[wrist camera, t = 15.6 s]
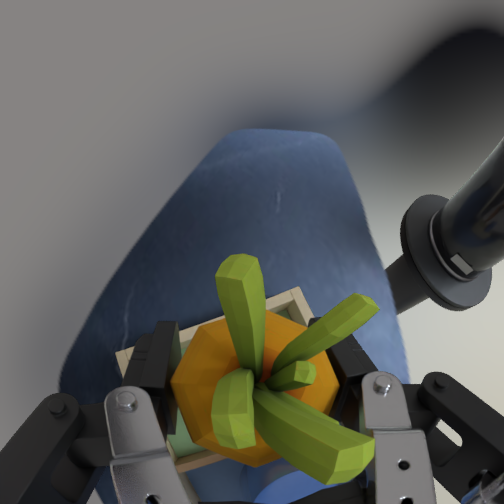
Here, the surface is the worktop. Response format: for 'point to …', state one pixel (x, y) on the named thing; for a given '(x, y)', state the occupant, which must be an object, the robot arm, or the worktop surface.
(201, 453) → the sorting tray
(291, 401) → the carrot
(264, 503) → the blue cylinder
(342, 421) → the robot arm
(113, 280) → the worktop surface
